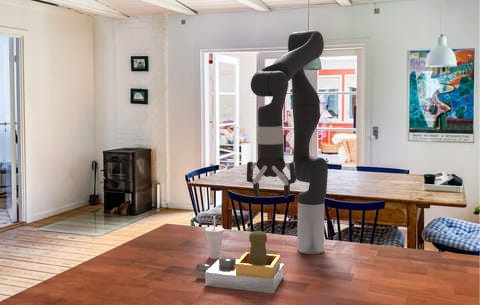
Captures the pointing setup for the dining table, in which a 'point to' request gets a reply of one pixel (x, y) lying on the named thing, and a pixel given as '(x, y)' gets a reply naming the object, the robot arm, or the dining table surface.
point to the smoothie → (214, 240)
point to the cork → (258, 248)
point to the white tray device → (243, 274)
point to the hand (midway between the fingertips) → (271, 196)
